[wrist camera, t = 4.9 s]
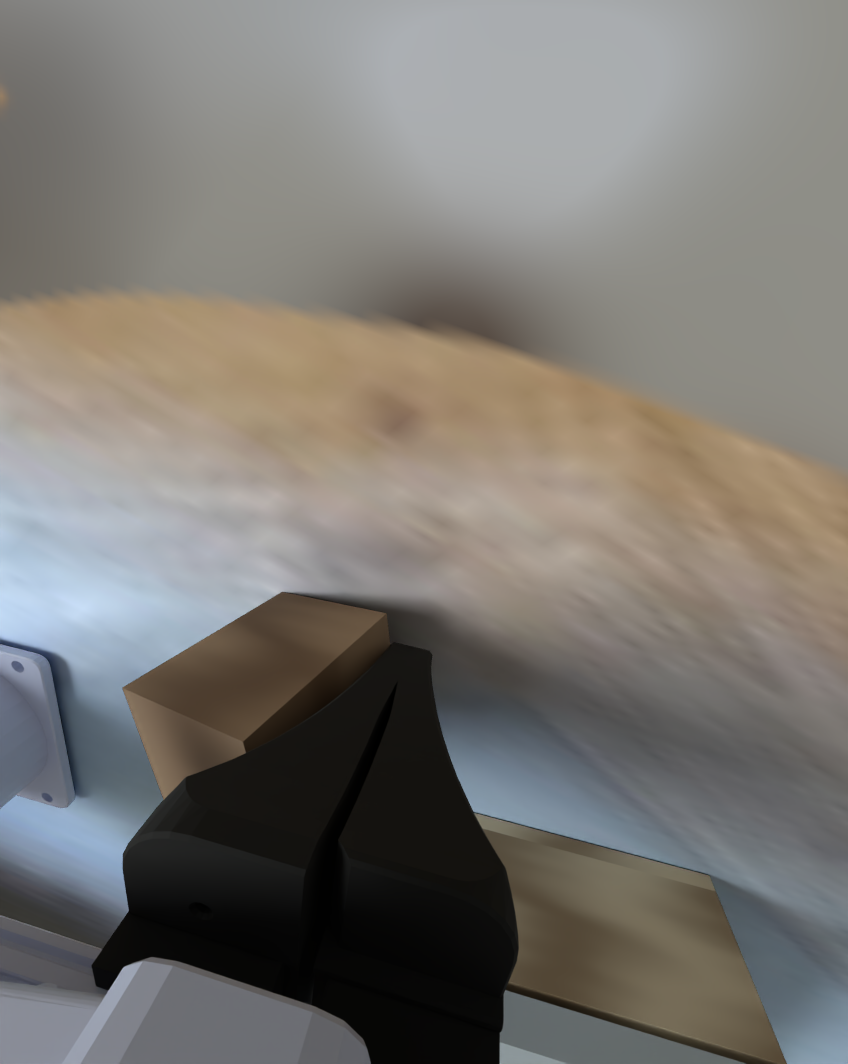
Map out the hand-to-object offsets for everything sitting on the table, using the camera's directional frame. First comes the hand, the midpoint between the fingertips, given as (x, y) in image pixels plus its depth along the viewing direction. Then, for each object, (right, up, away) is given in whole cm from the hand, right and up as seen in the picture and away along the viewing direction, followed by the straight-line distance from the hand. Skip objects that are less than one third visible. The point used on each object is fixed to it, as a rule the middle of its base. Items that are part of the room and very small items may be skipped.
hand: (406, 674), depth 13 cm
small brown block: (-2, 0, +1) cm, 2 cm away
